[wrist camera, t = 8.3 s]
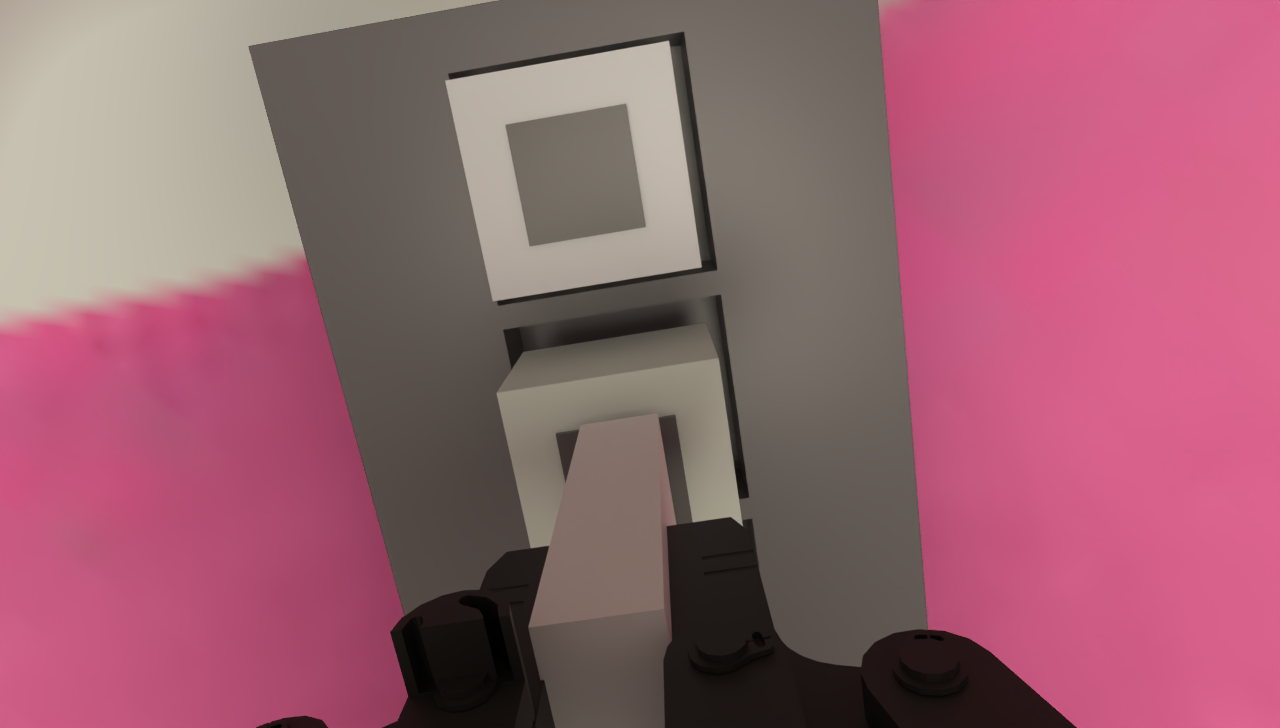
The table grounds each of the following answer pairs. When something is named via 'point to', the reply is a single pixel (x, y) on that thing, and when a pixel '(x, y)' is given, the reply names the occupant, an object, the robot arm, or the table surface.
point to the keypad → (624, 286)
